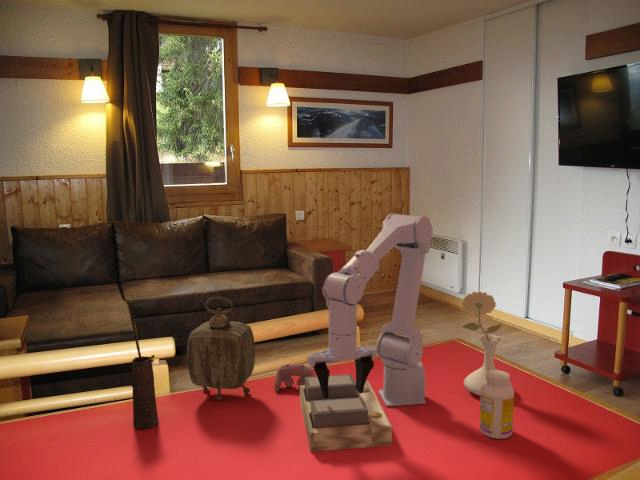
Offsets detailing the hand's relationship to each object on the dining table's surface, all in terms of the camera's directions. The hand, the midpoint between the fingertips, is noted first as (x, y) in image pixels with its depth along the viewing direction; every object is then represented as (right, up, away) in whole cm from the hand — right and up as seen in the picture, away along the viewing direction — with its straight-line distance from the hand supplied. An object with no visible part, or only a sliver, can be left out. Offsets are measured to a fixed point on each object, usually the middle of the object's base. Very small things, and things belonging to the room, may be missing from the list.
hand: (342, 393), depth 114 cm
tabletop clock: (-28, -6, +18) cm, 34 cm away
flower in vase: (+36, -5, +21) cm, 42 cm away
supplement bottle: (+32, -9, +2) cm, 34 cm away
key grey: (-2, -4, +11) cm, 12 cm away
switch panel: (0, -8, +6) cm, 10 cm away
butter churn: (-42, -8, +7) cm, 43 cm away
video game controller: (-11, -5, +23) cm, 26 cm away
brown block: (-1, -6, 0) cm, 6 cm away
